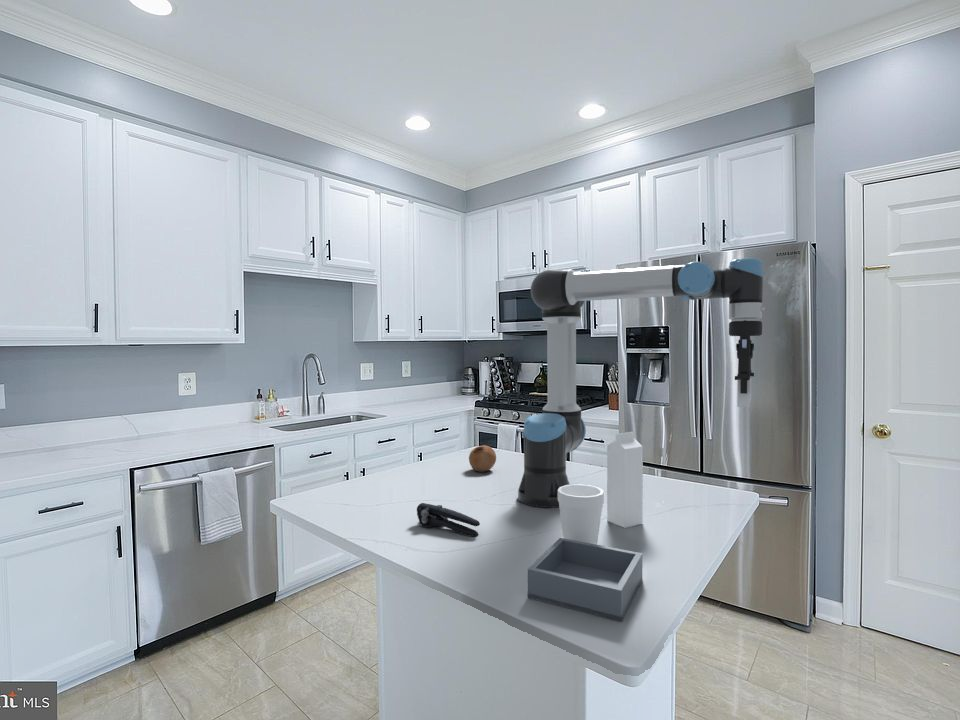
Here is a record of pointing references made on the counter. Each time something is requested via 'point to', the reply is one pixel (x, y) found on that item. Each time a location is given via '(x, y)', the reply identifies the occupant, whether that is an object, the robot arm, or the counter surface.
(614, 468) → the pale carton
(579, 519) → the foam cup
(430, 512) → the can opener
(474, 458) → the onion
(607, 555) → the bin
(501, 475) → the counter surface
